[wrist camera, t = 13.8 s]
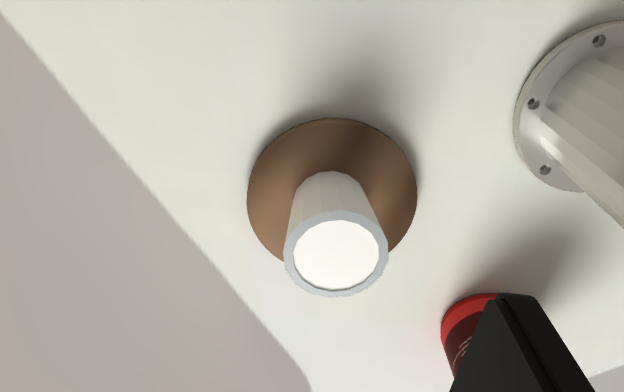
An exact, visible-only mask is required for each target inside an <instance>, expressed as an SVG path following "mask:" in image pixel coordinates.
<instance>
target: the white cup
mask: <svg viewBox="0 0 624 392" xmlns="http://www.w3.org/2000/svg"><path fill="white" fill-rule="evenodd" d="M283 257H284V263H285V269H286V271H287V273H288V274H289V275H290V277H291V278H292V280H293V281H294V283H295V284H296V285H298V286H299V287H301V288H303V289H304V290H306V291H308V292H309V293H311V294H314V295H319V296H324V297H328V298H335V297H344V296H351V295H353V294H356V293H358V292H360V291H362V290H365V289H367V288H368V287H370V286H371V285H372V284H373V283H374V282H375V281H376V280H377V279H378V278H379V277H380V276H381V275H382V273H383V271H384V268H385V266H386V264H387V262H388V259H389V258H388V241H387V239H386V237H385V235H384V233H383V231H382V229H381V226H380V224H379V222H378V220H377V218H376V216H375V214H374V212H373V209H372V207H371V205H370V203H369V201H368V199H367V197H366V195H365V193H364V191H363V189H362V187H361V186H360V184H359V182H357V181H356V180H355V179H353V178H352V177H351V176H349V175H348V174H344V173H340V172H336V171H328V172H319V173H317V174H315V175H313V176H311V177H309V178H307V179H305V180H304V182H303V183H302V184H301V185H300V186H299V187H298V188H297V190H296V193H295V196H294V199H293V203H292V208H291V213H290V218H289V224H288V229H287V234H286V240H285V245H284V250H283Z"/></svg>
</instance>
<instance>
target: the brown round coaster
mask: <svg viewBox="0 0 624 392" xmlns="http://www.w3.org/2000/svg"><path fill="white" fill-rule="evenodd" d="M328 171H336V172H340V173H344V174H348V175H349V176H351V177H352V178H353V179H355V180H356V181H357V182H359V184H360V186H361V187H362V189H363V191H364V193H365V195H366V197H367V199H368V201H369V203H370V205H371V207H372V209H373V212H374V214H375V216H376V218H377V220H378V222H379V224H380V226H381V229H382V231H383V233H384V235H385V237H386V239H387V241H388V253H389V252H390V251H391V250H392V249H393V248H394V247H395V246H396V245H397V244H398V243H399V242H400V241H401V240H402V238H403V237H404V236H405V234H406V233H407V231H408V229H409V227H410V225H411V223H412V220H413V218H414V215H415V211H416V206H417V186H416V182H415V177H414V174H413V172H412V169H411V167H410V165H409V163H408V161H407V159H406V157H405V155H404V154H403V152H402V151H401V150H400V148H399V147H398V146H397V145H396V143H395V142H393V141H392V140H391V139H390V138H389V137H388V136H387V135H385V134H384V133H382V132H381V131H379V130H378V129H376V128H374V127H372V126H370V125H367V124H364V123H361V122H358V121H354V120H349V119H339V118H329V119H319V120H313V121H310V122H306V123H303V124H300V125H298V126H296V127H293V128H291V129H289V130H288V131H286V132H284V133H283V134H281V135H280V136H278V137H277V138H276V139H275V140H273V141H272V142H271V143H270V144H269V145H268V146H267V147H266V149H265V150H264V151H263V152H262V154H261V155H260V157H259V158H258V160H257V162H256V164H255V165H254V167H253V170H252V173H251V176H250V180H249V185H248V191H247V211H248V216H249V220H250V223H251V226H252V228H253V230H254V232H255V234H256V236H257V237H258V239H259V240H260V242H261V243H262V244H263V245H264V247H265V248H266V249H267V250H268V251H270V252H271V253H272V254H273V255H274V256H276V257H277V258H278V259H280V260H281V261H283V262H284V257H283V250H284V245H285V240H286V234H287V229H288V224H289V218H290V213H291V208H292V203H293V199H294V196H295V193H296V190H297V188H298V187H299V186H300V185H301V184H302V183H303V182H304V180H305V179H307V178H309V177H311V176H313V175H315V174H317V173H319V172H328Z"/></svg>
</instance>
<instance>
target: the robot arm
mask: <svg viewBox="0 0 624 392" xmlns="http://www.w3.org/2000/svg"><path fill="white" fill-rule="evenodd" d="M595 36H596V37H595ZM594 37H595V40H594V41H593V39H594ZM530 99H532V100H531V102H529V100H530ZM528 102H529V103H528ZM513 136H514V141H515V146H516V149H517V151H518V153H519V155H520V157H521V160H522V161H523V162H524V163H525V165H526V166H527V167H528V168H529V170H530V171H531V172H532V173H533V174H534V175H535V176H536V177H537V178H538V179H540V180H542V181H543V182H545V183H546V184H548V185H550V186H552V187H555V188H558V189H561V190H563V191H570V192H578V193H581V192H585V193H586V194H587V195H589V196H590V197H591V198H592V199H593V200H594V201H595V202H596V203H597V204H598V205H599V206H600V207H601V208H602V209H603V210H604V211H605V212H607V213H608V214H609V215H610V216H611V217H612V218H613V219H614V220H615V221H616V222H617V223H618V224H619V225H620V226H621V227H622V228H623V229H624V21H612V22H608V23H603V24H599V25H595V26H592V27H590V28H588V29H585V30H583V31H580V32H578V33H576V34H575V35H573V36H571V37H570V38H568V39H566V40H565V41H563V42H562V43H560V44H559V45H558V46H557V47H555V48H554V49H553V50H552V51H551V52H550V53H548V54H547V55H546V56H545V57H544V58H543V59H542V61H541V62H540V63H539V64H538V65H537V66H536V68H535V69H534V70H533V71H532V73H531V75H530V76H529V78H528V79H527V81H526V83H525V84H524V86H523V88H522V91H521V93H520V95H519V98H518V100H517V103H516V108H515V112H514V117H513ZM449 392H595V390H594V389H593V387H592V386H591V384H590V383H589V381H588V379H587V378H586V376H585V375H584V373H583V372H582V370H581V369H580V367H579V365H578V364H577V362H576V361H575V359H574V358H573V356H572V354H571V353H570V351H569V350H568V348H567V347H566V345H565V343H564V342H563V340H562V339H561V337H560V336H559V334H558V332H557V331H556V329H555V328H554V326H553V325H552V323H551V321H550V320H549V318H548V317H547V315H546V314H545V312H544V311H543V309H542V307H541V306H540V304H539V303H538V301H537V300H536V299H535V298H534V297H532V296H529V295H520V294H511V293H499V294H498V295H497V296H496V298H495V299H490V300H488V301H487V302H486V304H485V306H484V309H483V311H482V314H481V316H480V318H479V321H478V323H477V326H476V328H475V331H474V333H473V335H472V338H471V340H470V343H469V345H468V347H467V350H466V352H465V355H464V357H463V360H462V362H461V364H460V367H459V369H458V372H457V374H456V377H455V379H454V381H453V384H452V386H451V389H450V391H449Z"/></svg>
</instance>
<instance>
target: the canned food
mask: <svg viewBox="0 0 624 392" xmlns="http://www.w3.org/2000/svg"><path fill="white" fill-rule="evenodd" d="M496 296H497V294H478V295H474V296H470V297H468V298H465V299H463V300H461V301H459V302H458V303H456V304H455V305H454V306H452V307H451V308H450V309H449V310H448V312H447V313H446V314H445V316H444V318H443V320H442V323H441V341H442V344H443V347H444V350H445V353H446V356H447V359H448V362H449V364H450V367H451V370H452V373H453V376H454V379H455V377H456V374H457V372H458V369H459V367H460V364H461V362H462V360H463V357H464V355H465V352H466V350H467V347H468V345H469V343H470V340H471V338H472V335H473V333H474V331H475V328H476V326H477V323H478V321H479V318H480V316H481V314H482V311H483V309H484V306H485V304H486V302H487V301H488V300H490V299H495V298H496Z"/></svg>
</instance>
